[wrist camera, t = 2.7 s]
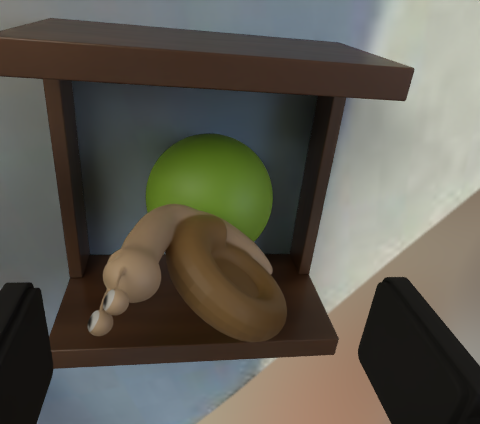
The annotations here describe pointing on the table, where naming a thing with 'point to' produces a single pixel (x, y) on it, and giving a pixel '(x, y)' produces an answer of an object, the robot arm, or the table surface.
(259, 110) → the table surface
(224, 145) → the snail figurine
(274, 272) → the frame
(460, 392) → the robot arm
